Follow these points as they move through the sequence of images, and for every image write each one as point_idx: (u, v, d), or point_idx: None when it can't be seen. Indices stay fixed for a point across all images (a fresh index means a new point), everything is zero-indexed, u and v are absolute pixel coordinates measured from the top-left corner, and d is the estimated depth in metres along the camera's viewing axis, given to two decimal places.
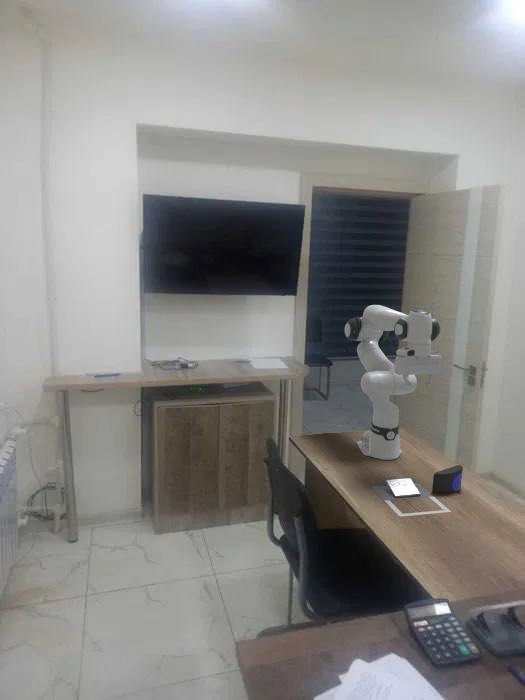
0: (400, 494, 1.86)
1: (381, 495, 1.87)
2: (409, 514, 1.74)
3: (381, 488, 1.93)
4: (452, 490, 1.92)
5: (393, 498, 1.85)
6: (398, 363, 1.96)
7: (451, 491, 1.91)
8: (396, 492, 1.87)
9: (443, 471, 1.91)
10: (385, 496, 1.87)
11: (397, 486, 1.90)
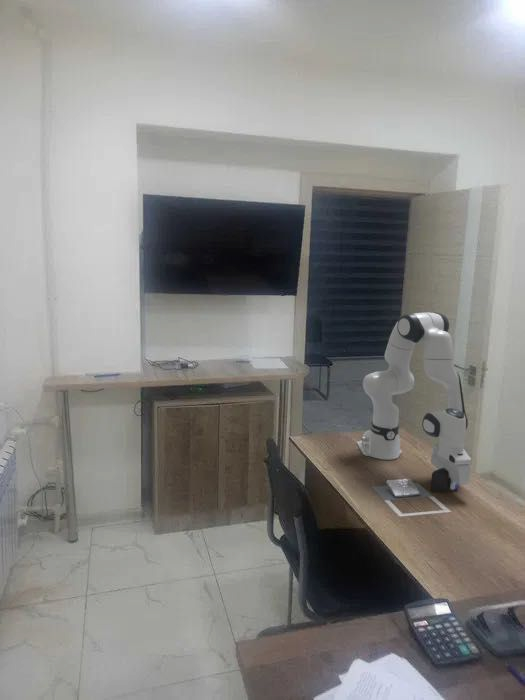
0: (400, 494, 1.86)
1: (381, 495, 1.87)
2: (409, 514, 1.74)
3: (381, 488, 1.93)
4: None
5: (393, 498, 1.85)
6: (466, 473, 1.84)
7: (449, 489, 1.92)
8: (396, 492, 1.87)
9: (441, 470, 1.92)
10: (385, 496, 1.87)
11: (397, 486, 1.90)
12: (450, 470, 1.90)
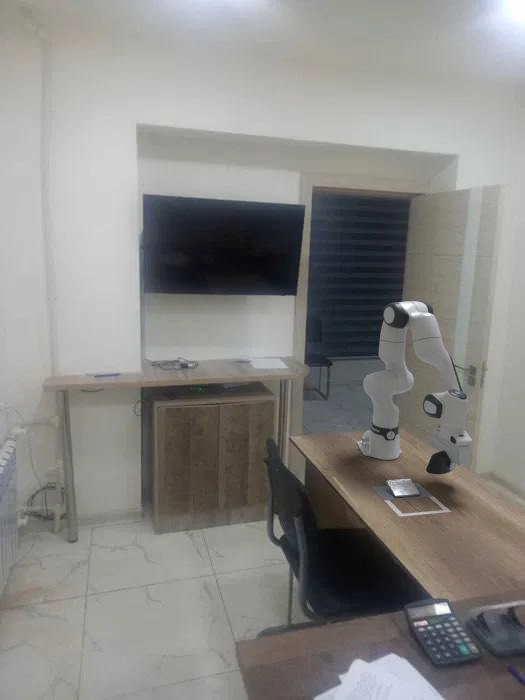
0: (400, 494, 1.86)
1: (381, 495, 1.87)
2: (409, 514, 1.74)
3: (381, 488, 1.93)
4: (446, 470, 1.94)
5: (393, 498, 1.85)
6: (467, 454, 1.83)
7: (445, 471, 1.94)
8: (396, 492, 1.87)
9: (442, 453, 1.91)
10: (385, 496, 1.87)
11: (397, 486, 1.90)
12: (451, 451, 1.89)
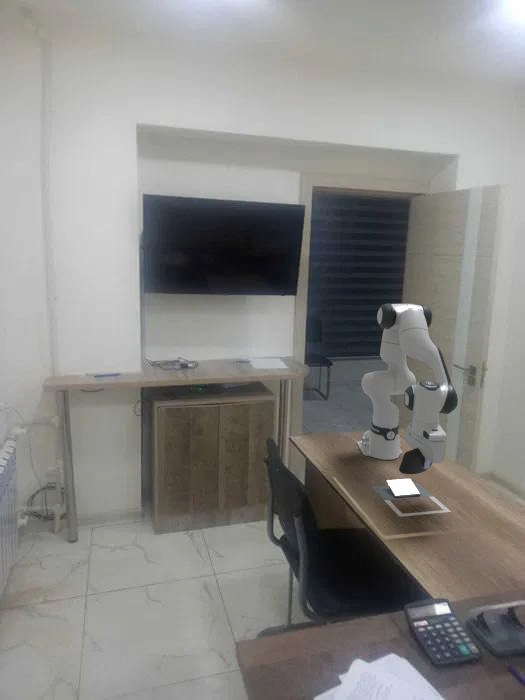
0: (400, 494, 1.86)
1: (381, 495, 1.87)
2: (409, 514, 1.74)
3: (381, 488, 1.93)
4: (421, 469, 1.78)
5: (393, 498, 1.85)
6: (441, 450, 1.68)
7: (420, 470, 1.78)
8: (396, 492, 1.87)
9: (415, 451, 1.75)
10: (385, 496, 1.87)
11: (397, 486, 1.90)
12: (424, 448, 1.73)
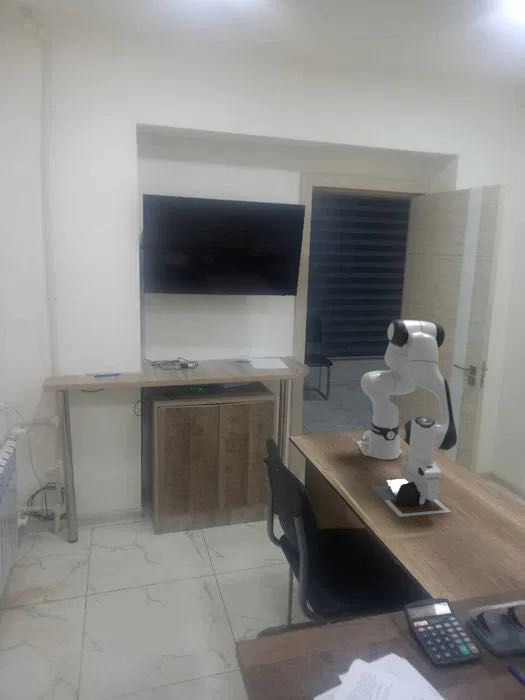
0: None
1: (381, 495, 1.87)
2: (409, 514, 1.74)
3: (381, 488, 1.93)
4: (416, 503, 1.80)
5: (393, 498, 1.85)
6: (436, 488, 1.70)
7: (415, 504, 1.80)
8: (396, 492, 1.87)
9: (411, 484, 1.78)
10: (385, 496, 1.87)
11: (397, 486, 1.90)
12: (419, 484, 1.75)
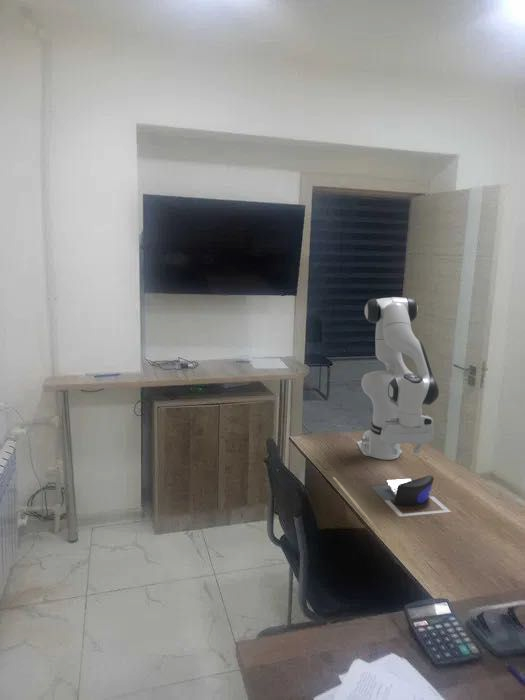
0: None
1: (381, 495, 1.87)
2: (409, 514, 1.74)
3: (381, 488, 1.93)
4: (416, 503, 1.81)
5: (393, 498, 1.85)
6: None
7: (415, 504, 1.80)
8: (396, 492, 1.87)
9: (409, 484, 1.78)
10: (385, 496, 1.87)
11: (397, 486, 1.90)
12: (418, 435, 1.86)
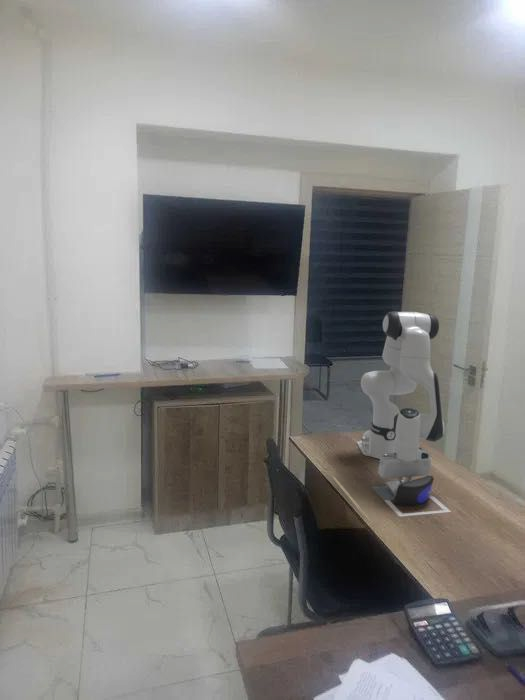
0: None
1: (381, 495, 1.87)
2: (409, 514, 1.74)
3: (381, 488, 1.93)
4: (416, 503, 1.81)
5: (393, 498, 1.85)
6: None
7: (415, 504, 1.80)
8: (396, 492, 1.87)
9: (409, 484, 1.78)
10: (385, 496, 1.87)
11: (397, 487, 1.90)
12: (415, 469, 1.88)
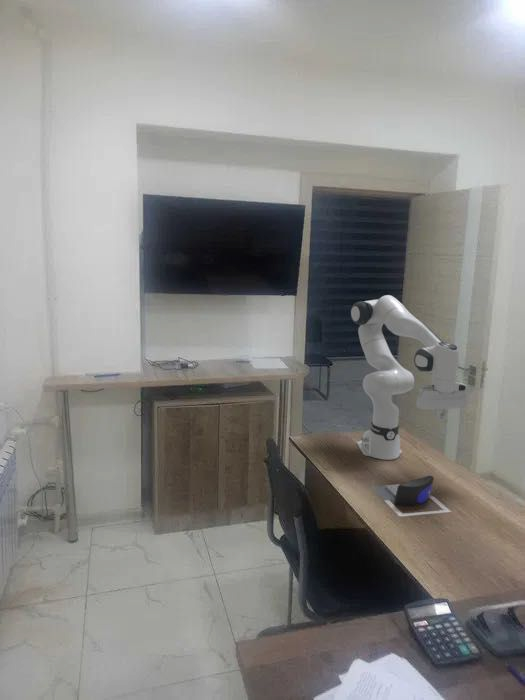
0: None
1: (381, 495, 1.87)
2: (409, 514, 1.74)
3: (381, 488, 1.93)
4: (416, 503, 1.81)
5: (393, 498, 1.85)
6: None
7: (415, 504, 1.80)
8: (395, 493, 1.88)
9: (409, 484, 1.78)
10: (385, 496, 1.87)
11: (396, 489, 1.91)
12: (452, 401, 1.93)
